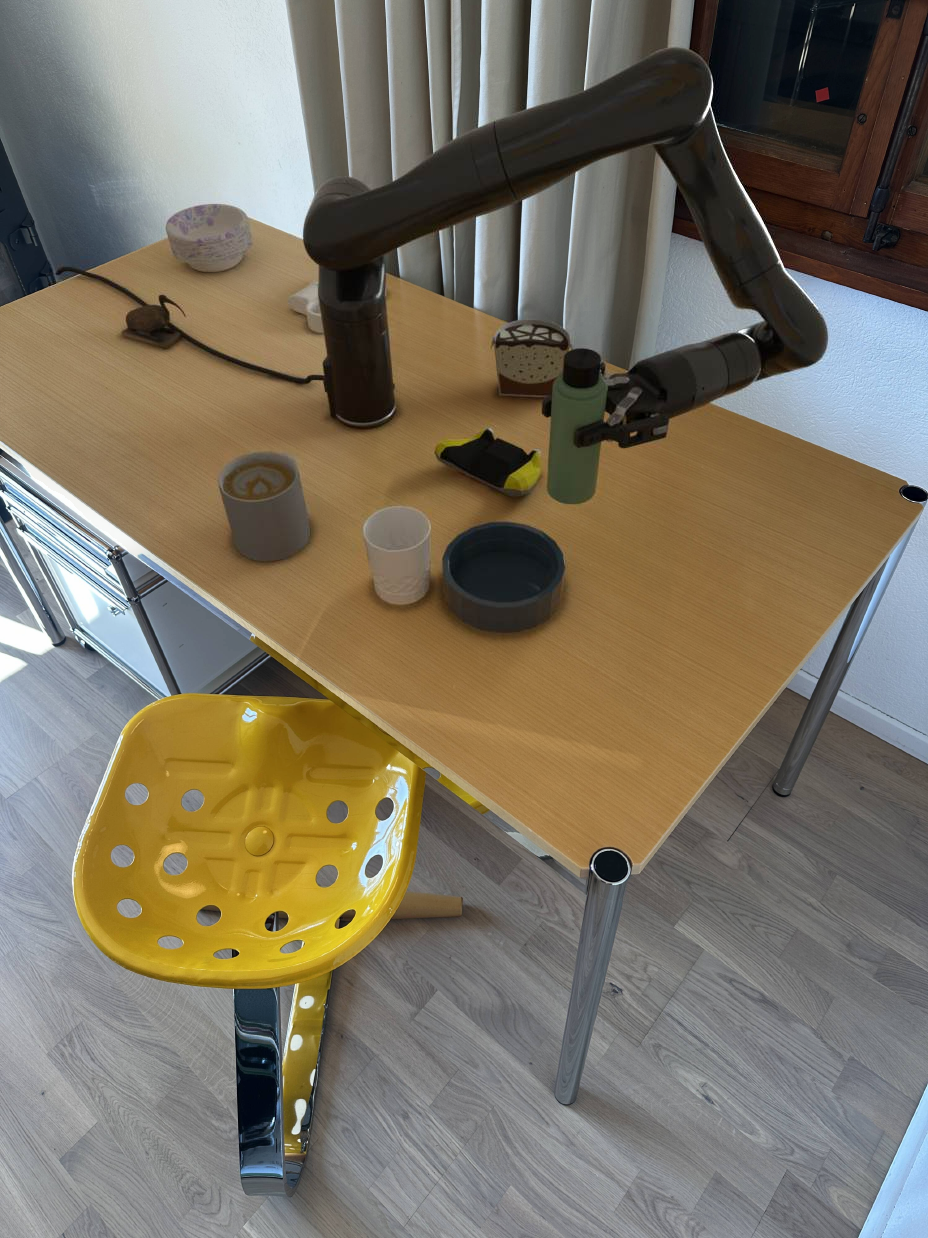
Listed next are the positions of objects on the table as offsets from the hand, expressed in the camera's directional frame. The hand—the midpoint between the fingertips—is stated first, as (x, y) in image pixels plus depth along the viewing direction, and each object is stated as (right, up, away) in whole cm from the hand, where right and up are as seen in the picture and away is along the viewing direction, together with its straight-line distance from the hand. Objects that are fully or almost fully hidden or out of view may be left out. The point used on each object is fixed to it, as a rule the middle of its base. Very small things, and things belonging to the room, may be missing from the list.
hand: (559, 423), depth 98 cm
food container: (0, +15, +40) cm, 42 cm away
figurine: (-62, +26, +51) cm, 84 cm away
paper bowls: (-59, +47, +70) cm, 103 cm away
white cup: (-18, -18, +10) cm, 28 cm away
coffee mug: (-35, -10, +18) cm, 41 cm away
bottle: (+2, -6, +9) cm, 11 cm away
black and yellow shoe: (-7, -2, +24) cm, 25 cm away
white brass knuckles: (-33, +33, +57) cm, 74 cm away
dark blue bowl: (-6, -19, +9) cm, 22 cm away
